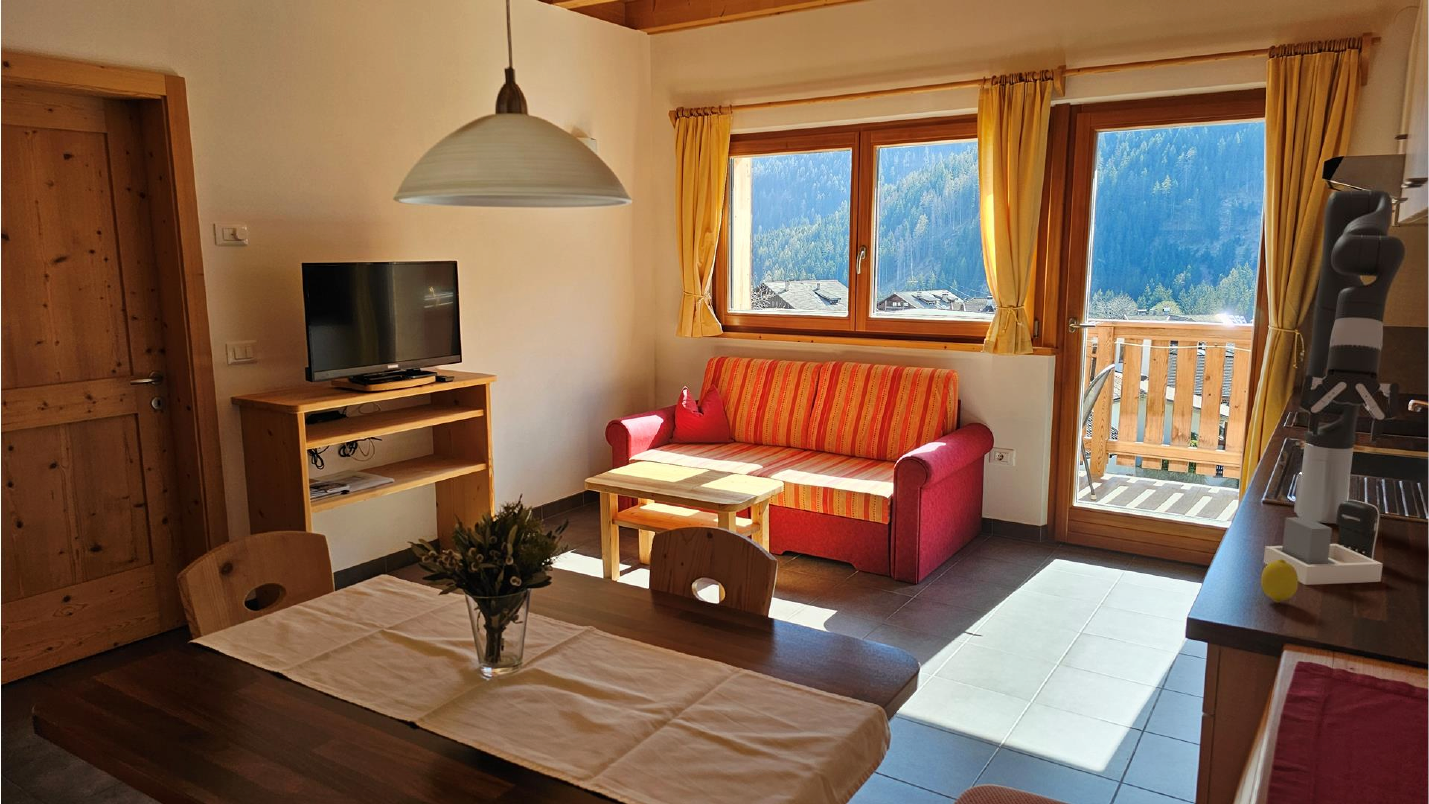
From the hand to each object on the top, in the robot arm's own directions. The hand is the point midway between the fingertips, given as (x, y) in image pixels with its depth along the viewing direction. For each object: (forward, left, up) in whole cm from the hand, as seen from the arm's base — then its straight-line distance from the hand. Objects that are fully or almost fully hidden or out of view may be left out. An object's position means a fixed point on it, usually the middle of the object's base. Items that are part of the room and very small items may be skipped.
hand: (1343, 438), depth 164 cm
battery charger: (-18, +21, -29) cm, 40 cm away
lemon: (+2, -10, -29) cm, 31 cm away
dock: (-11, +8, -29) cm, 32 cm away
